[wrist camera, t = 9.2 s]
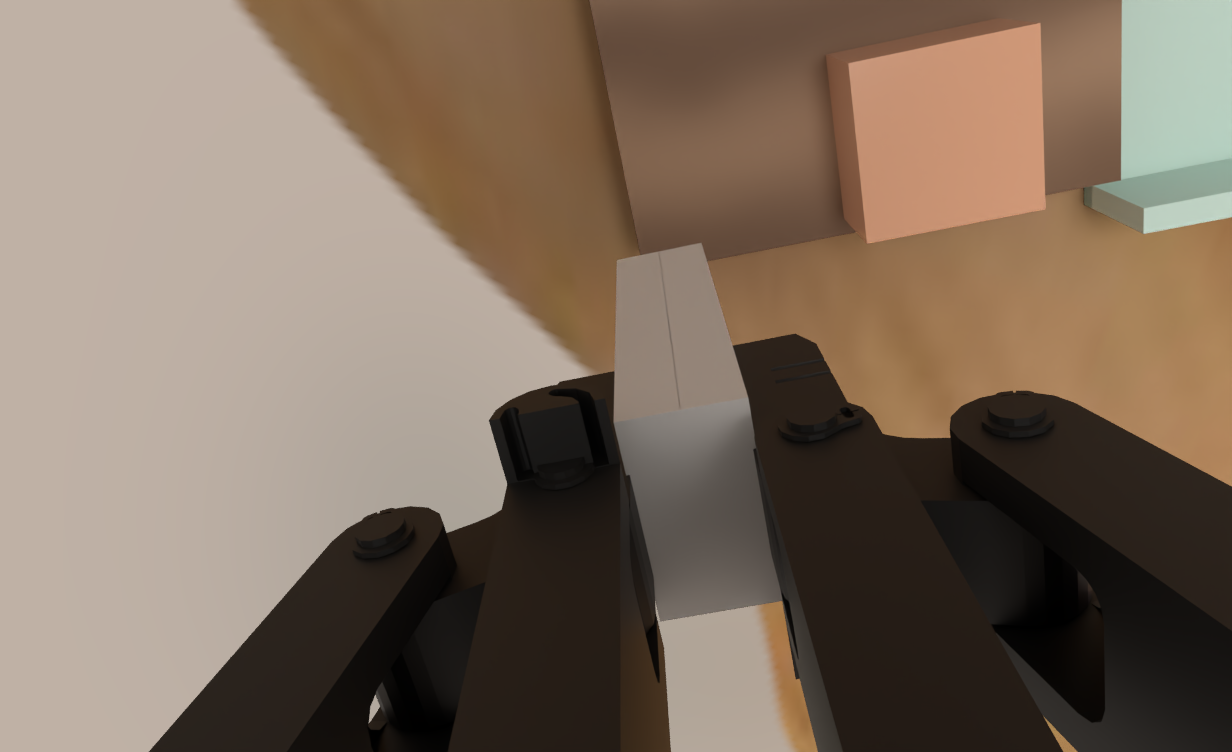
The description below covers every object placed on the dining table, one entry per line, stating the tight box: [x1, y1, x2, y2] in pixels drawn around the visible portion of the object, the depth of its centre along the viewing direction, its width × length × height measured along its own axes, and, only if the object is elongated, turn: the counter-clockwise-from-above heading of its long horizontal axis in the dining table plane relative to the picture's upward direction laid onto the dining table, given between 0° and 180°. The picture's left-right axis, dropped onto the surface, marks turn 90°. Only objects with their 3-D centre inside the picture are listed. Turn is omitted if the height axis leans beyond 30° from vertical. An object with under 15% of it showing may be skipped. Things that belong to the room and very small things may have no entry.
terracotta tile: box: [826, 18, 1046, 244], centre depth 27 cm, size 5×5×3 cm
